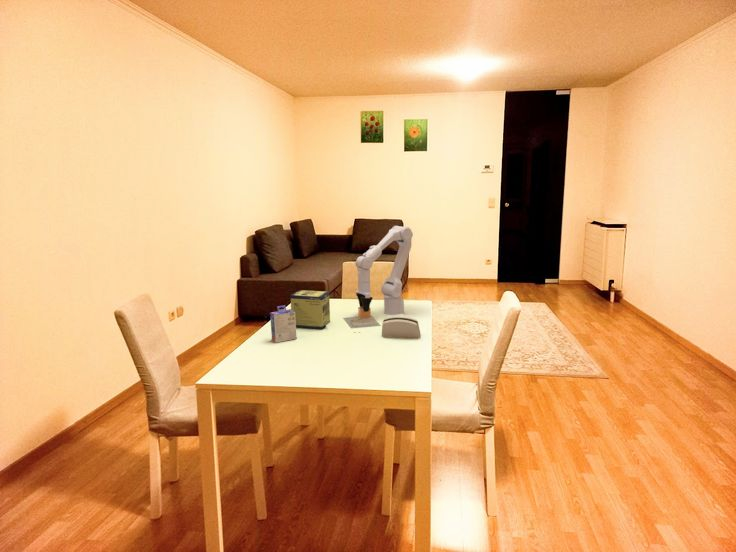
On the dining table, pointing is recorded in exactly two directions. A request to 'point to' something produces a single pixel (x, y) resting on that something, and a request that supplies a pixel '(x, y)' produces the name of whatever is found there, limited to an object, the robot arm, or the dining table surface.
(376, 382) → the dining table surface
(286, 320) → the ink cartridge box
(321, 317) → the protein box
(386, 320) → the beige rounded block
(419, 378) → the dining table surface
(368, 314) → the module
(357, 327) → the mount board
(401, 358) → the dining table surface
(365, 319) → the rail
